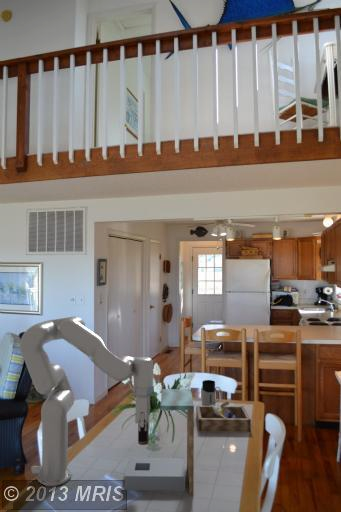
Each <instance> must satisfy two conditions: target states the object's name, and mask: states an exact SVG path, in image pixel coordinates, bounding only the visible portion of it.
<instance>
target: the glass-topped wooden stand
mask: <svg viewBox="0 0 341 512" xmlns="http://www.w3.org/2000/svg"><path fill="white" fill-rule="evenodd" d="M160 394H161V395H160V411H186V415H187V416H186V470H187V471H186V473H187V474H186V475H187V482H188V483H187V485H188V486H187V487H188V495H189V496H194V489H195V487H194V484H195V482H194V481H195V479H194V473H195V472H194V465H195V464H194V459H195V458H194V453H195V451H194V448H195V445H194V441H195V437H194V436H195V434H194V433H195V431H194V429H195V427H194V425H195V409H194V408H195V405H194V399H193V398H194V397H193V393H192V389H191V388H189V389H188V388H162V389H161V393H160Z"/></svg>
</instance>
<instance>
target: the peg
mask: <svg viewBox="0 0 341 512" xmlns="http://www.w3.org/2000/svg"><path fill="white" fill-rule="evenodd" d="M140 422H141V421H140ZM144 422H145V421H144ZM149 422H150V421H149V419H148V423H146V430H147V441H146V442H140V441H139V422H138V423H137V429H138V430H137V431H138V432H137V437H138V439H137V442H138V443H137V444H138V445H140V446H146V445H149V443H150V442H149V441H150V439H149V435H150V434H149V433H150V432H149V429H150V428H149V427H150V426H149ZM144 425H145V424H144Z"/></svg>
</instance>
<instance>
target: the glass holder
mask: <svg viewBox="0 0 341 512" xmlns="http://www.w3.org/2000/svg"><path fill="white" fill-rule="evenodd" d="M201 384H202V386H201V387H202V388H201V406H211V405H215V406H216V404H217V403H218V402H220V399H221V395H222V389H221V388H220V386H216V381H214V380H211V379H205V380H204V379H203V380H202V383H201ZM217 389H218V390H219V396H218V398H217V400H216V392H217Z"/></svg>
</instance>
